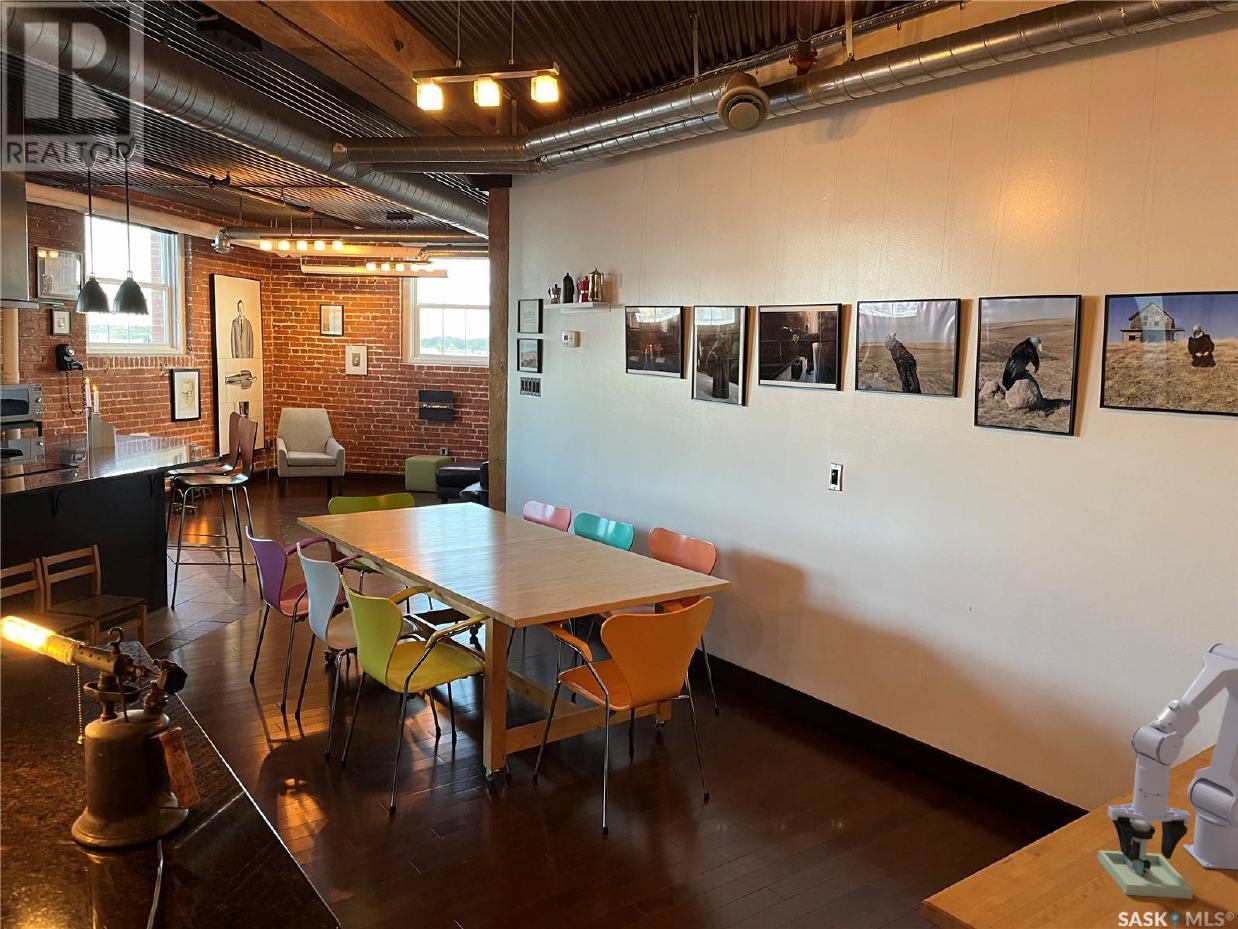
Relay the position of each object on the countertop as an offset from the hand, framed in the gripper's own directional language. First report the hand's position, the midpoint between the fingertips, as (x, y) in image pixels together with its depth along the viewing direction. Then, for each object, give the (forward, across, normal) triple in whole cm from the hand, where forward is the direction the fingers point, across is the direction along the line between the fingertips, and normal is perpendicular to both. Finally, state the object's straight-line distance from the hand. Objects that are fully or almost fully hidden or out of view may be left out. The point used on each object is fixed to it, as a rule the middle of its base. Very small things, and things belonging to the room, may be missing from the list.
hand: (1145, 855), depth 173 cm
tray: (+5, 0, 0) cm, 5 cm away
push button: (+5, 0, -2) cm, 5 cm away
